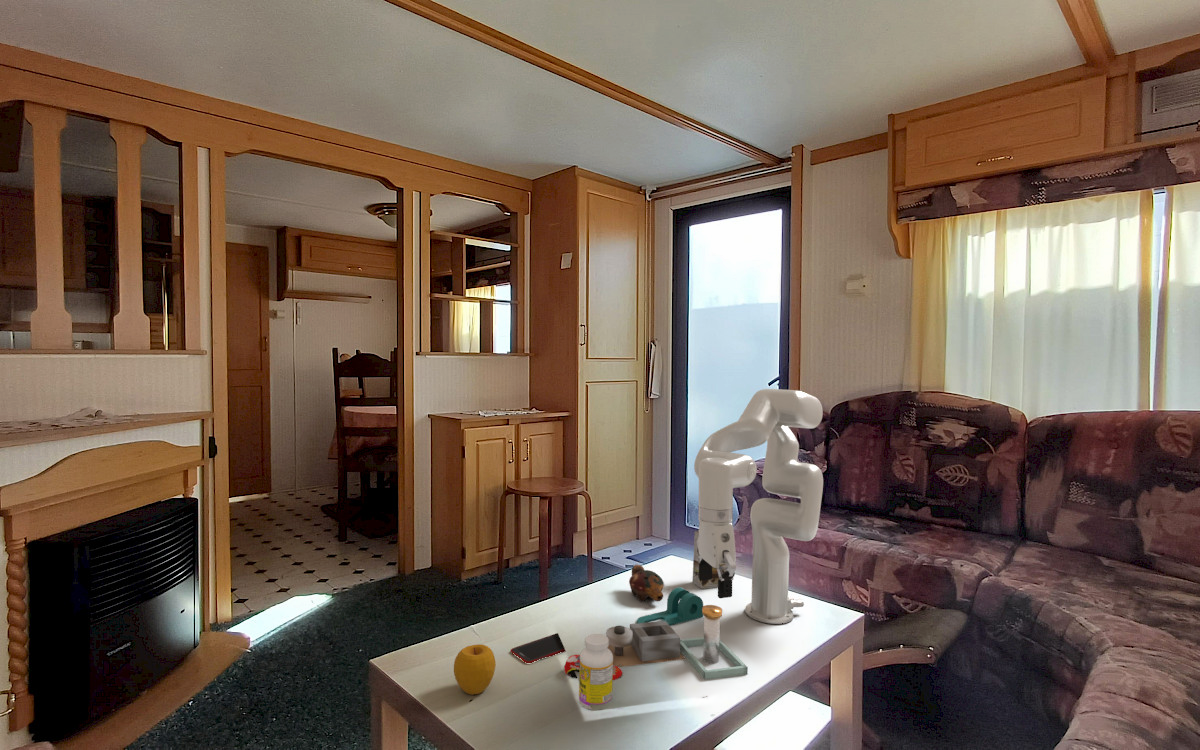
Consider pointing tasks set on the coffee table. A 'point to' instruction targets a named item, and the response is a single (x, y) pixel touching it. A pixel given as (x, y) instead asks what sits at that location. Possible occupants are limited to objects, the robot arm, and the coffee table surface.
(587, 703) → the supplement bottle
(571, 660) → the race car
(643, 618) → the bracket
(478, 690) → the apple
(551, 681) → the coffee table surface
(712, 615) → the pin
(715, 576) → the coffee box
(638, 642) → the square socket fixture board
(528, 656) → the cell phone
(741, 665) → the tray
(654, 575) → the green brown ocarina
